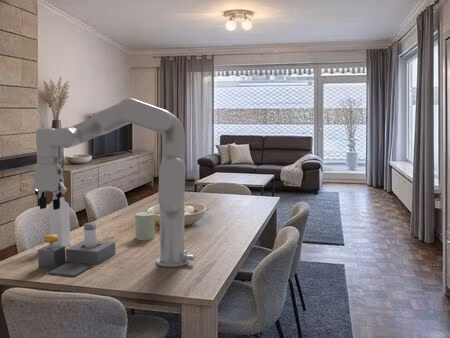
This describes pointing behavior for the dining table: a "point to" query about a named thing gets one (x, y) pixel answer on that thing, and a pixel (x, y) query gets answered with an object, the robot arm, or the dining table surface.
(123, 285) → the dining table surface
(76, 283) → the dining table surface
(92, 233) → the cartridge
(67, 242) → the milk
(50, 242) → the plunger
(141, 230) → the can
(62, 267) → the mat
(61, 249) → the dark grey cube
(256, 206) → the dining table surface
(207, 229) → the dining table surface
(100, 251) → the block
